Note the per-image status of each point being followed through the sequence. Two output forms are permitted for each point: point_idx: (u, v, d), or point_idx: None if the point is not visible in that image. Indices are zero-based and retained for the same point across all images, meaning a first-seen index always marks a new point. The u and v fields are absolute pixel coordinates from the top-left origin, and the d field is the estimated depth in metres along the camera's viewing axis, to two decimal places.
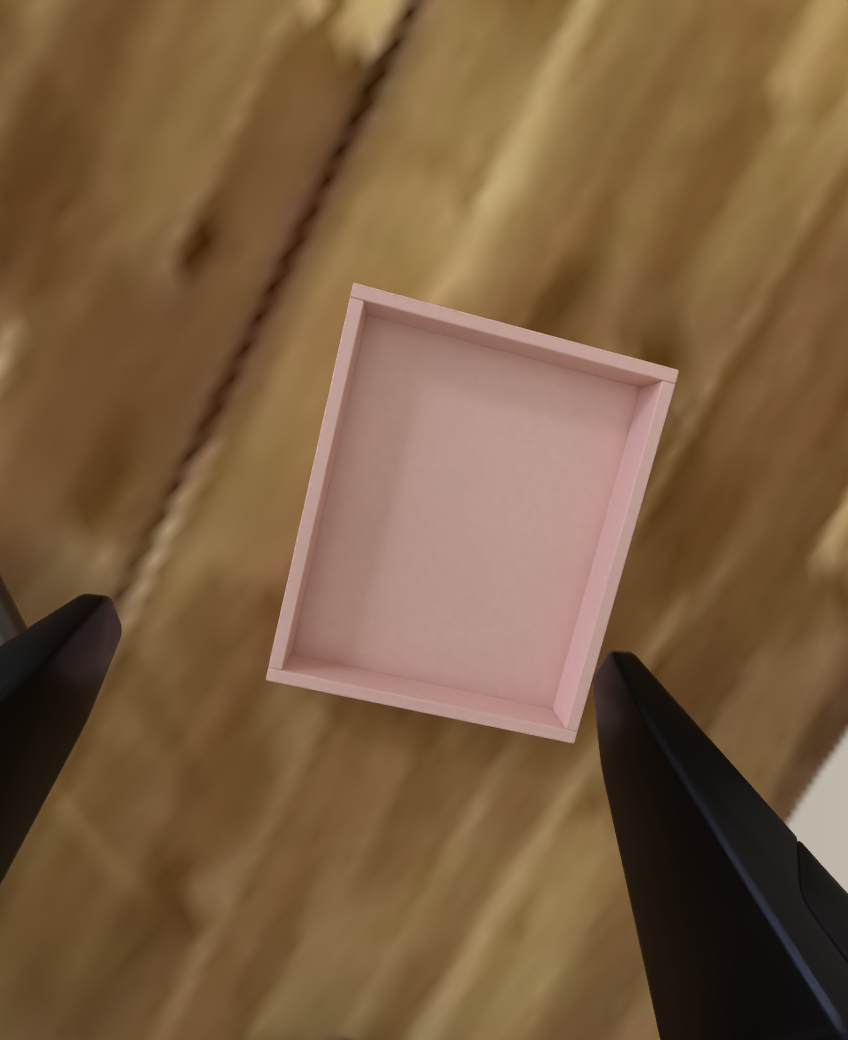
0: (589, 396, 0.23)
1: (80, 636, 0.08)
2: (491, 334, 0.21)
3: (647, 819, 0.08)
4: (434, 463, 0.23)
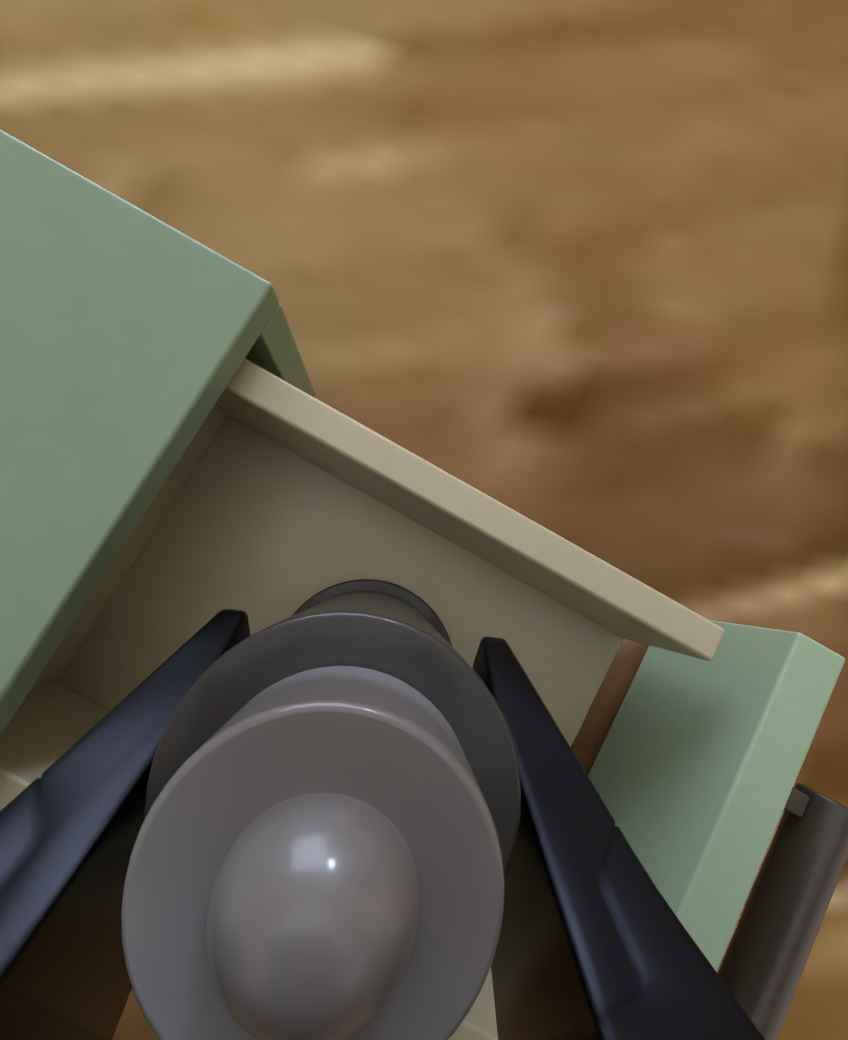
0: None
1: None
2: None
3: None
4: None
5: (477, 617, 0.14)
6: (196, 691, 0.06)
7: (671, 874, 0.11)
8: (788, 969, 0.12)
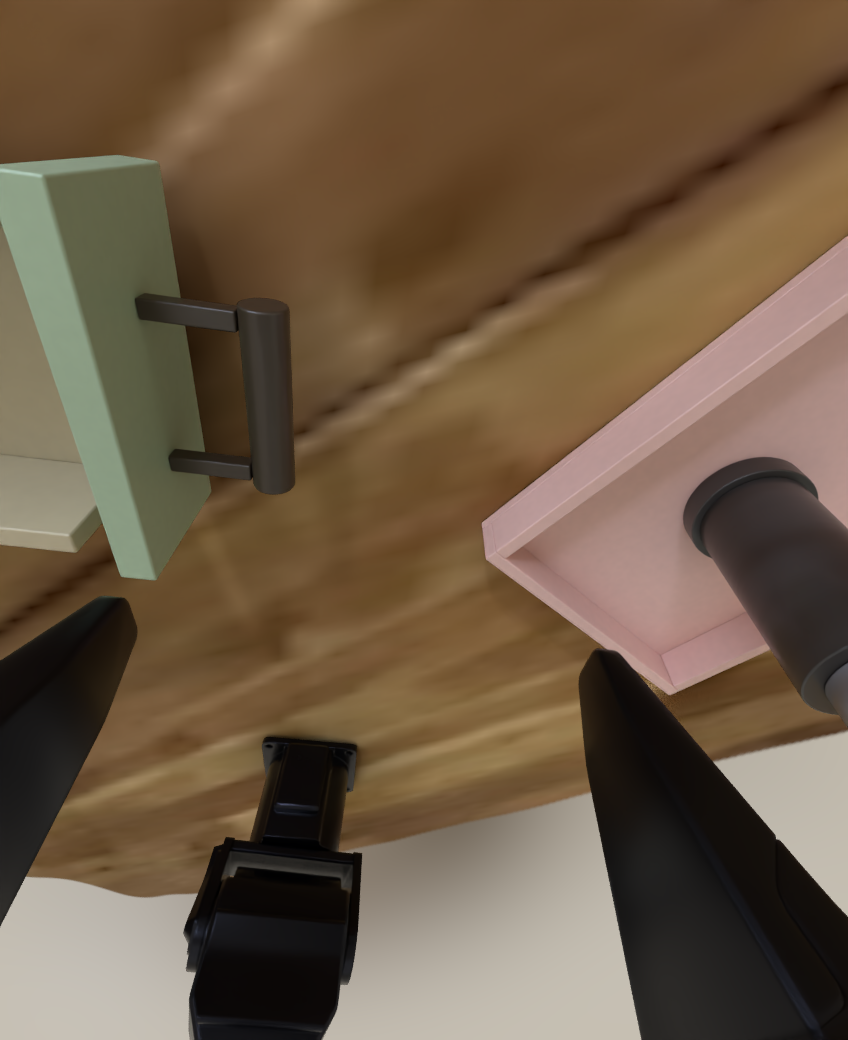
0: None
1: (98, 638, 0.08)
2: None
3: (629, 817, 0.08)
4: (777, 440, 0.19)
5: None
6: None
7: None
8: (264, 443, 0.16)
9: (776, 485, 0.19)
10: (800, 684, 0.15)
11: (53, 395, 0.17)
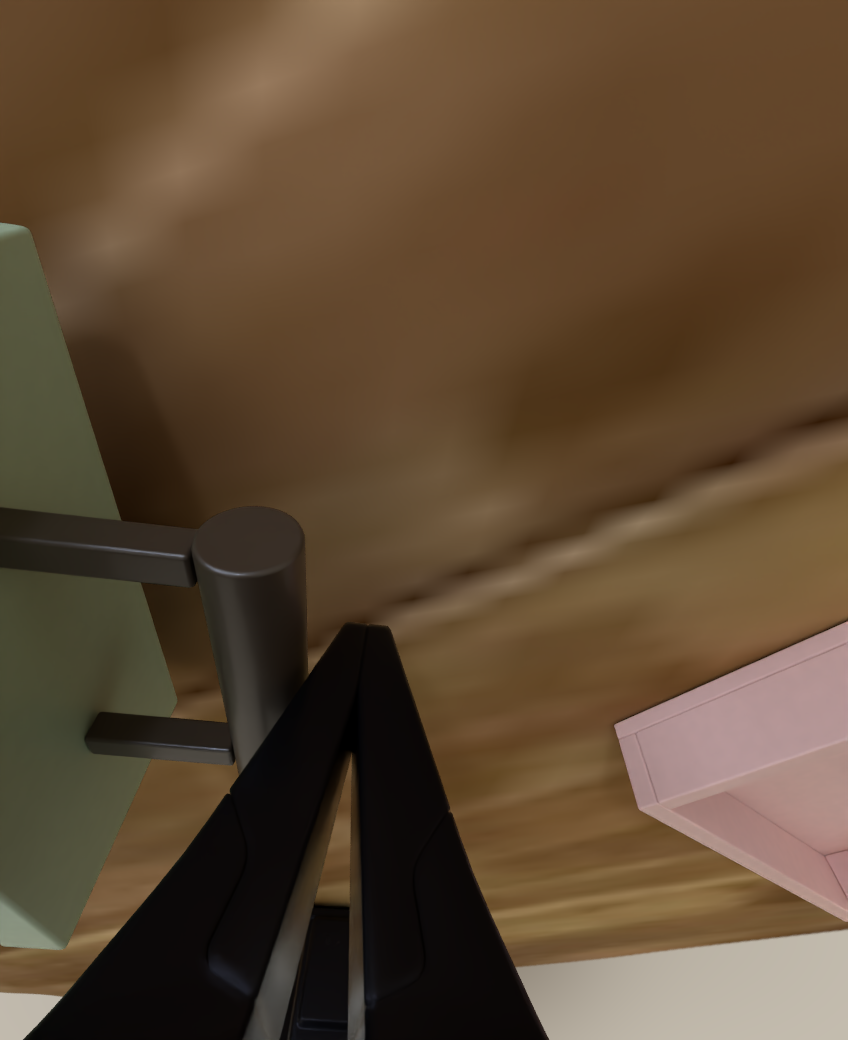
0: None
1: None
2: None
3: (354, 794, 0.07)
4: None
5: None
6: None
7: None
8: (256, 742, 0.08)
9: None
10: None
11: None
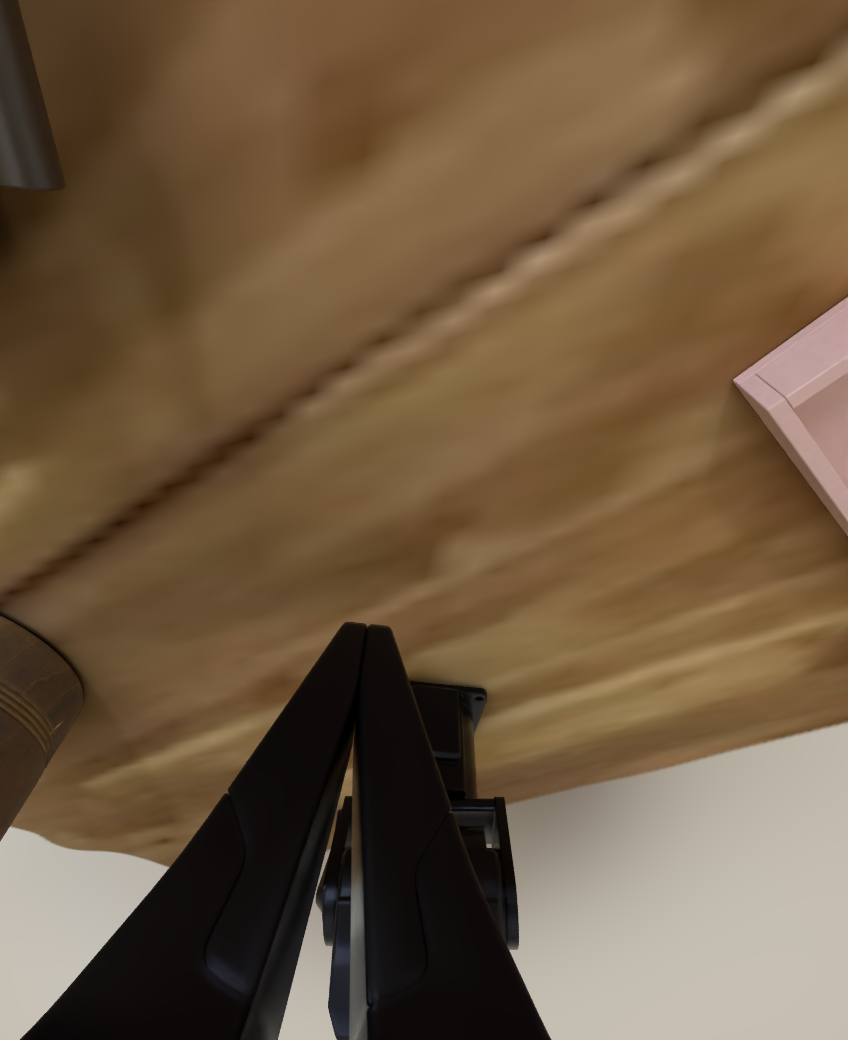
0: None
1: None
2: None
3: (355, 794, 0.07)
4: None
5: None
6: None
7: None
8: None
9: None
10: None
11: None
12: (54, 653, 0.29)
